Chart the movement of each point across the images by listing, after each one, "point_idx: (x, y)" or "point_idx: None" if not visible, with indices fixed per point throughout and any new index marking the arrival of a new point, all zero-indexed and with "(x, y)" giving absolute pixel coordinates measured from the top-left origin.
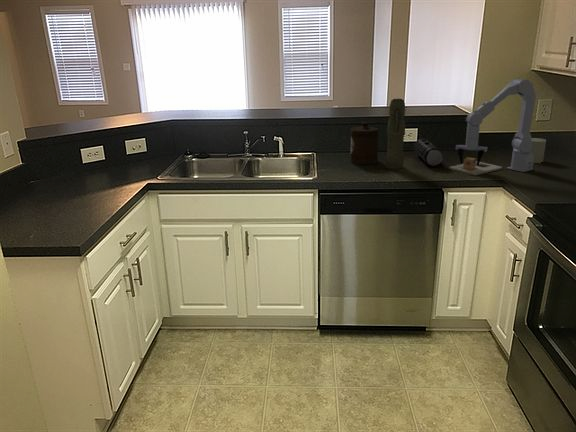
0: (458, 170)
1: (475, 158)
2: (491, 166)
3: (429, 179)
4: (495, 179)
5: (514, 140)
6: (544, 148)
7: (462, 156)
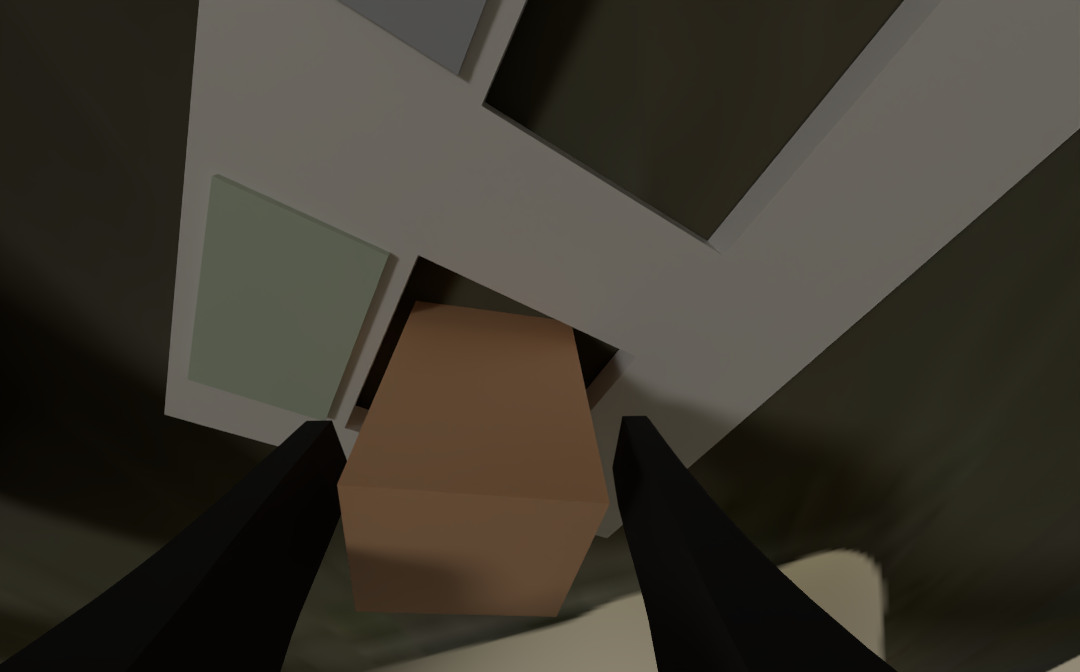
0: None
1: (588, 508)
2: (937, 70)
3: (298, 667)
4: (782, 549)
5: None
6: None
7: (259, 643)
